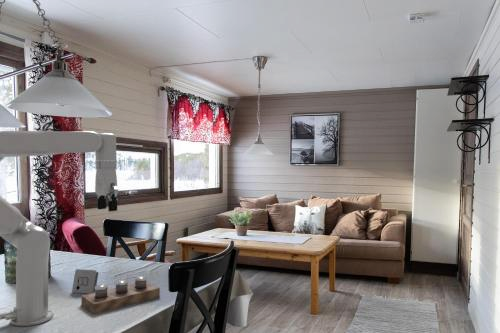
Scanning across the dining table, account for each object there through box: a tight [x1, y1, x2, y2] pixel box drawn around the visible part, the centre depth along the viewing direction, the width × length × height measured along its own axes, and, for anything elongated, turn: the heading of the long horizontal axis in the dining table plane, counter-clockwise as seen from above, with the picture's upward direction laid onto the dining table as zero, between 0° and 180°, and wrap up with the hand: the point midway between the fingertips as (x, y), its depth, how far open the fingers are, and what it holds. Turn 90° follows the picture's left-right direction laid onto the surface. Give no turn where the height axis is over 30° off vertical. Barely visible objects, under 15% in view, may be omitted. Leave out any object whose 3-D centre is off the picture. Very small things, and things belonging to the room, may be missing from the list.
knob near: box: [94, 283, 109, 299], centre depth 143 cm, size 4×4×4 cm
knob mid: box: [115, 279, 129, 294], centre depth 149 cm, size 4×4×4 cm
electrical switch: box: [71, 268, 99, 294], centre depth 160 cm, size 9×5×9 cm, turn 78°
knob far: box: [134, 275, 147, 289], centre depth 154 cm, size 4×4×4 cm
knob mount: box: [80, 281, 161, 315], centre depth 149 cm, size 26×12×4 cm, turn 134°
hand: (107, 210), depth 149 cm, fingers open, 9 cm apart
